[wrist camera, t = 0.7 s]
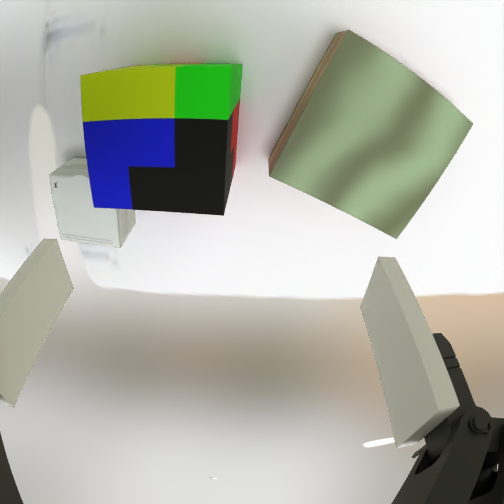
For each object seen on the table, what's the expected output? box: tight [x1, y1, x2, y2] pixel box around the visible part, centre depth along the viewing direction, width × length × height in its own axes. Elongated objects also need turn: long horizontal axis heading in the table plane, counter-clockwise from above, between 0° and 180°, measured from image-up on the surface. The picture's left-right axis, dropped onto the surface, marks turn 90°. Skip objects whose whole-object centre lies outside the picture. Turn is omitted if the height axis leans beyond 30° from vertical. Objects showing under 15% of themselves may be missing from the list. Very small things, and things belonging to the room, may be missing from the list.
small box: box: [50, 158, 135, 248], centre depth 29 cm, size 8×8×5 cm
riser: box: [268, 30, 473, 239], centre depth 25 cm, size 14×14×4 cm
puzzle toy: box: [81, 63, 242, 216], centre depth 23 cm, size 10×10×10 cm
